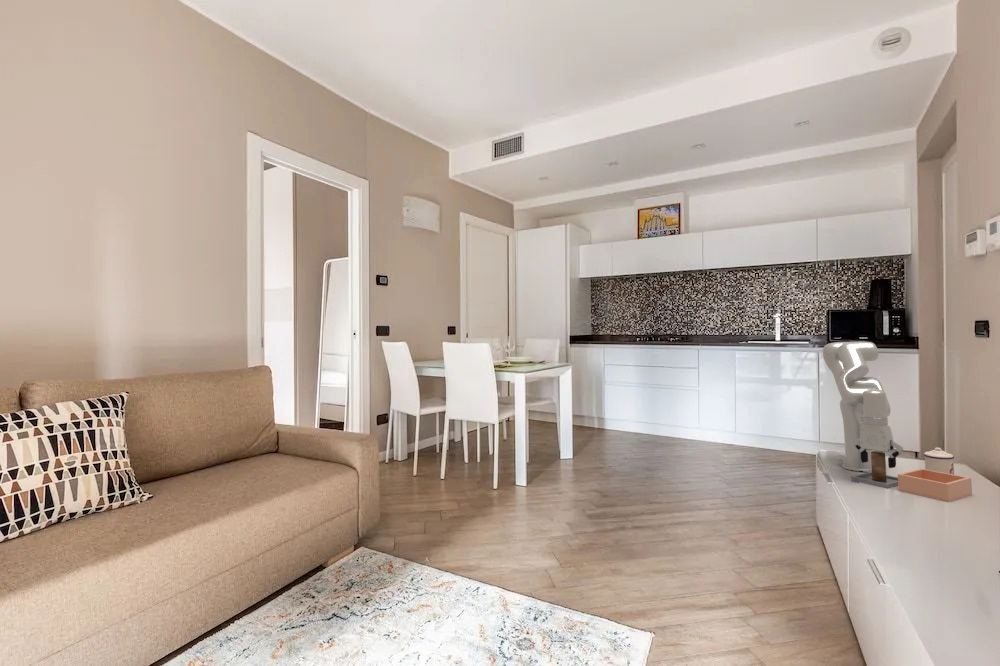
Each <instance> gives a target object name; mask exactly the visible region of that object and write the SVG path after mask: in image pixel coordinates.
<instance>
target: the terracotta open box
mask: <svg viewBox="0 0 1000 666" xmlns="http://www.w3.org/2000/svg"><path fill="white" fill-rule="evenodd" d="M897 477H898V486H897V487H898V489H897V490H898V491H899V492H905V493H908V494H913V495H918V496H922V497H927V498H931V499H934V500H939V501H944V502H947V503H950V502H953V501H955V500H960V499H962V498H966V497H969V496H972V495H973V488H972V486H973V485H972V478H971V477H968V476H962V475H956V474H954V475H953V474H947V473H942V472H937V471H931V470H926V469H925V468H918V469H914V470H909V471H904V472H901V473H898V474H897Z"/></svg>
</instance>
